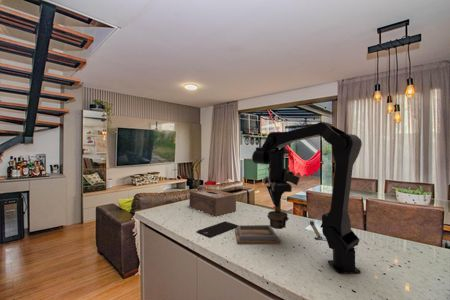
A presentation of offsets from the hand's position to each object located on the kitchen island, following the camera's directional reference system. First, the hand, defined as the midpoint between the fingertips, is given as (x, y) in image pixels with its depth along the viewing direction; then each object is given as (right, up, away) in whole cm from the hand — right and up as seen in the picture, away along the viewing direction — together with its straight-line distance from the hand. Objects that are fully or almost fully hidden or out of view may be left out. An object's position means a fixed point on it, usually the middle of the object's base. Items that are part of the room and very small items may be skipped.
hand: (275, 205), depth 84 cm
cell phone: (-22, -14, +12) cm, 29 cm away
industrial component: (0, -8, +1) cm, 8 cm away
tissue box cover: (-27, -14, +45) cm, 54 cm away
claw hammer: (+21, -14, +11) cm, 27 cm away
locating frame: (-7, -12, +4) cm, 15 cm away
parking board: (-7, -13, +4) cm, 16 cm away
